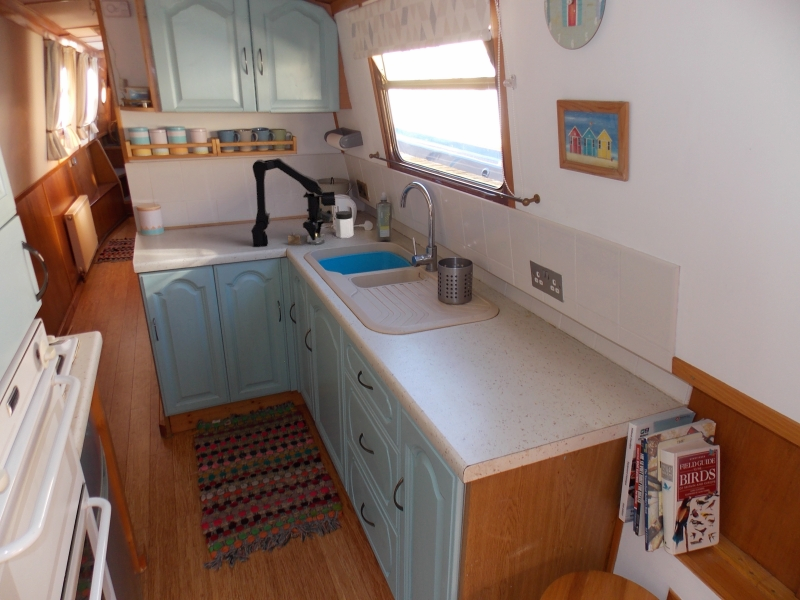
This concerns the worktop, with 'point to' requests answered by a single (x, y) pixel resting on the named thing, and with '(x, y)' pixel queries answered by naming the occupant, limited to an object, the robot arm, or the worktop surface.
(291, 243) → the stand
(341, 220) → the jar
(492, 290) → the worktop surface
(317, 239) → the square frame block
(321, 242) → the hub
